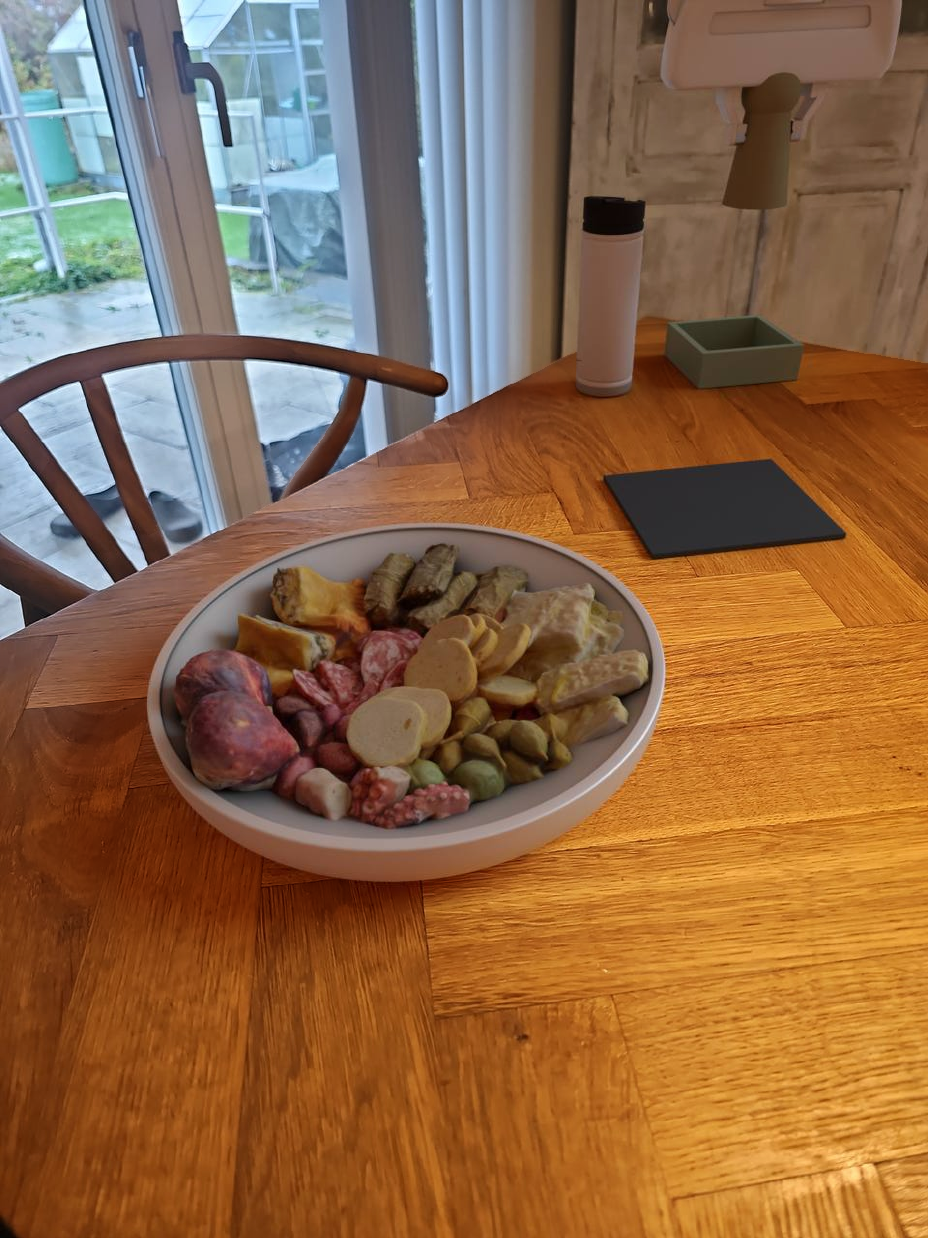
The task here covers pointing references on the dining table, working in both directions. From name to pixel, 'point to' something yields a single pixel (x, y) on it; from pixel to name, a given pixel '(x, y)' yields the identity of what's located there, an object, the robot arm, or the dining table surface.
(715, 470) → the mat
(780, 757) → the dining table surface
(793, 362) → the box
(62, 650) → the dining table surface
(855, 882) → the dining table surface
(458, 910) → the dining table surface
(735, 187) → the brown tapered knobbed piece
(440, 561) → the bowl
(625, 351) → the travel mug
